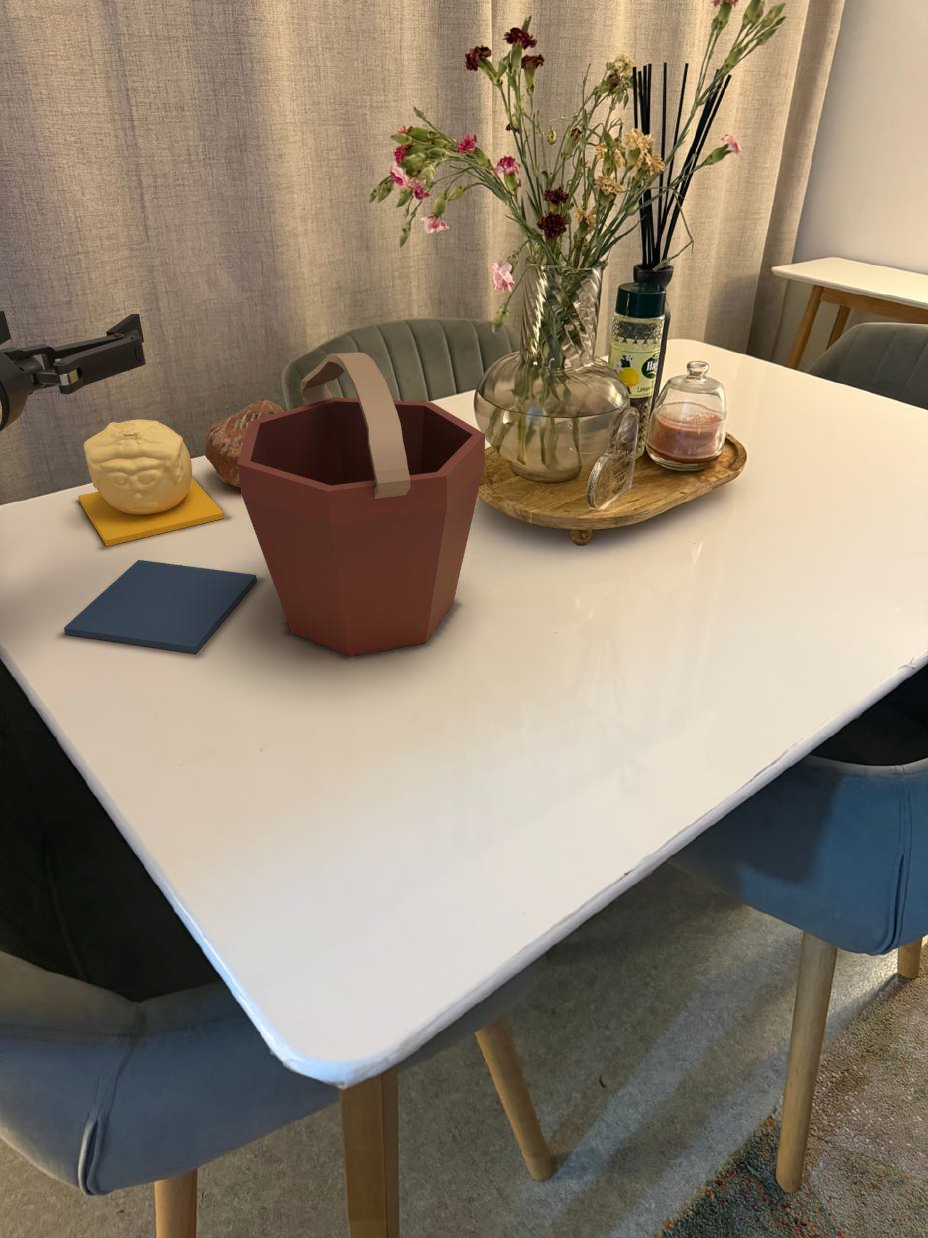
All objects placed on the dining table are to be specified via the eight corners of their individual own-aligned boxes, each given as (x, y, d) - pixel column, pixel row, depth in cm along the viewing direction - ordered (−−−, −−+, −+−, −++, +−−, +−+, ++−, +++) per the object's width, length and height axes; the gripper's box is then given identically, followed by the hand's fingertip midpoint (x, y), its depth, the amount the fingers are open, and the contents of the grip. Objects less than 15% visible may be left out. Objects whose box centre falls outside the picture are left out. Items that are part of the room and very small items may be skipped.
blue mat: (65, 634, 87) (63, 627, 87) (139, 565, 98) (138, 559, 98) (196, 653, 84) (195, 647, 84) (257, 581, 96) (256, 574, 95)
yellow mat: (106, 546, 102) (105, 540, 102) (79, 501, 112) (77, 495, 111) (224, 518, 108) (223, 512, 108) (188, 477, 118) (187, 472, 118)
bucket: (276, 554, 101) (248, 331, 87) (469, 546, 103) (471, 327, 89) (255, 684, 80) (215, 420, 67) (496, 671, 82) (505, 412, 69)
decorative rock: (264, 452, 125) (255, 383, 120) (322, 472, 120) (316, 400, 115) (191, 484, 116) (178, 410, 111) (250, 506, 111) (240, 430, 106)
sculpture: (91, 528, 104) (70, 441, 98) (109, 486, 114) (91, 404, 108) (192, 522, 105) (177, 436, 100) (201, 481, 115) (188, 400, 110)
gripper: (-176, 438, 73) (-41, 360, 91) (122, 446, 72) (200, 366, 90) (-213, 346, 69) (-64, 284, 87) (102, 354, 68) (188, 289, 86)
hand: (71, 325), depth 88 cm, fingers open, 13 cm apart
